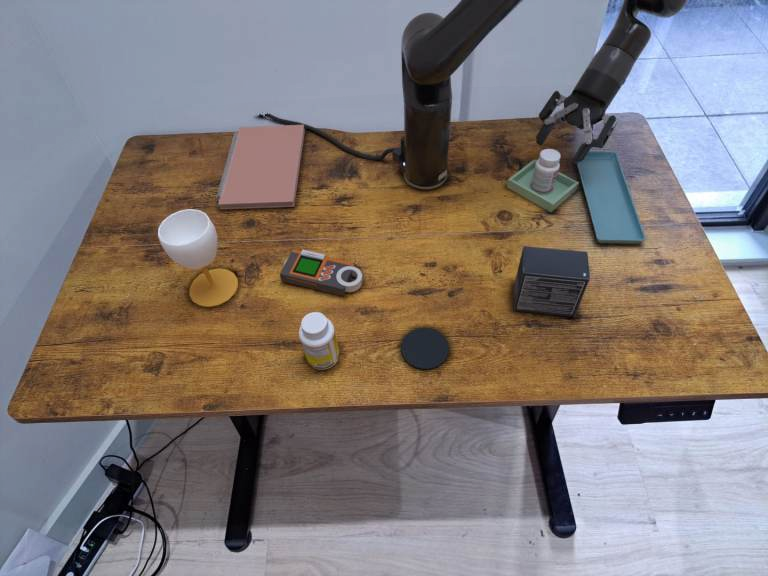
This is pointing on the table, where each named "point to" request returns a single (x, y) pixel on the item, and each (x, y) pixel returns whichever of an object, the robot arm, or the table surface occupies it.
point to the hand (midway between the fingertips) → (556, 153)
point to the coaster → (425, 348)
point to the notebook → (262, 168)
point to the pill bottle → (545, 171)
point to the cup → (197, 255)
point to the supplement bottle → (319, 341)
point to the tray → (547, 201)
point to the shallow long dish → (609, 199)
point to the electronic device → (320, 272)
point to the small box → (550, 281)
